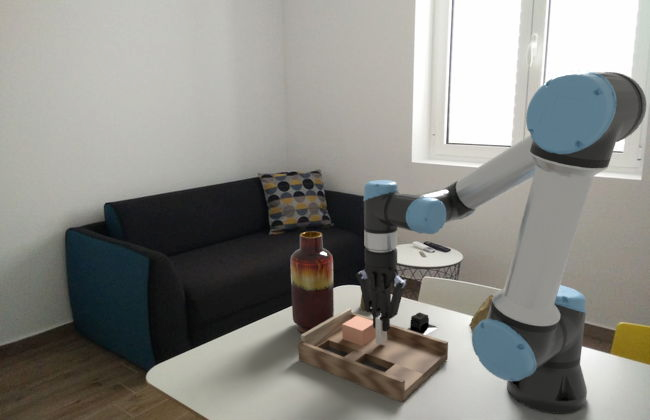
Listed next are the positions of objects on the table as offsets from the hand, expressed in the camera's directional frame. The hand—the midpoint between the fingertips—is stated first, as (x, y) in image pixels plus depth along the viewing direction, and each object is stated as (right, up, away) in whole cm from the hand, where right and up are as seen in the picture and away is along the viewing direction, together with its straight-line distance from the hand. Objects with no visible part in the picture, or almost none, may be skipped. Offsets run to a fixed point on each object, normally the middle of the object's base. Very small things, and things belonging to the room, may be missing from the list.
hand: (381, 341), depth 123 cm
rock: (+27, -1, +9) cm, 29 cm away
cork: (0, +3, +27) cm, 27 cm away
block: (-5, 0, +4) cm, 6 cm away
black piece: (+11, -1, +12) cm, 17 cm away
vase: (-17, 0, +15) cm, 22 cm away
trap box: (-2, -4, -2) cm, 5 cm away
